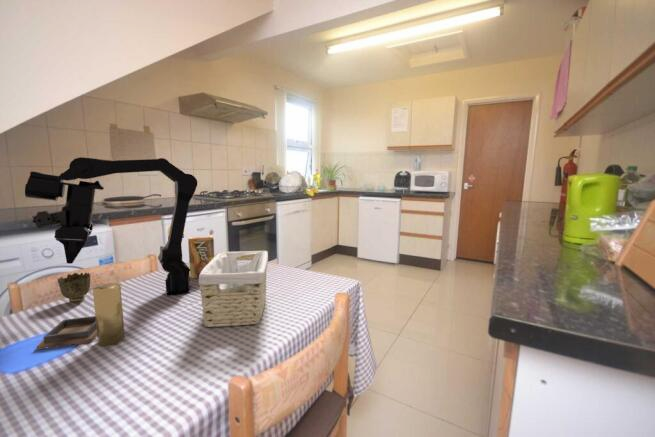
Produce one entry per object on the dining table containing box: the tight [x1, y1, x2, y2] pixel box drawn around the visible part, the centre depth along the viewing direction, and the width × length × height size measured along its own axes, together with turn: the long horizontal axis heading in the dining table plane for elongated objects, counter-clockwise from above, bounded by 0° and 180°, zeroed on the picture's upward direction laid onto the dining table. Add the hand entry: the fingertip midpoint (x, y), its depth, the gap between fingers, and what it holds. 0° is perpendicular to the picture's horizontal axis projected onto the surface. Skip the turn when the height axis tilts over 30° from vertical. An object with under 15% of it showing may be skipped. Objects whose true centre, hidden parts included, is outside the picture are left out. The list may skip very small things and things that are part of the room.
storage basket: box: [198, 250, 269, 328], centre depth 82 cm, size 24×16×15 cm
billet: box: [92, 282, 126, 347], centre depth 65 cm, size 5×5×13 cm
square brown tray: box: [36, 315, 98, 350], centre depth 68 cm, size 10×10×2 cm
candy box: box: [187, 235, 215, 279], centre depth 109 cm, size 9×4×15 cm, turn 116°
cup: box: [57, 272, 91, 304], centre depth 85 cm, size 8×7×8 cm
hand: (72, 259), depth 78 cm, fingers open, 9 cm apart
